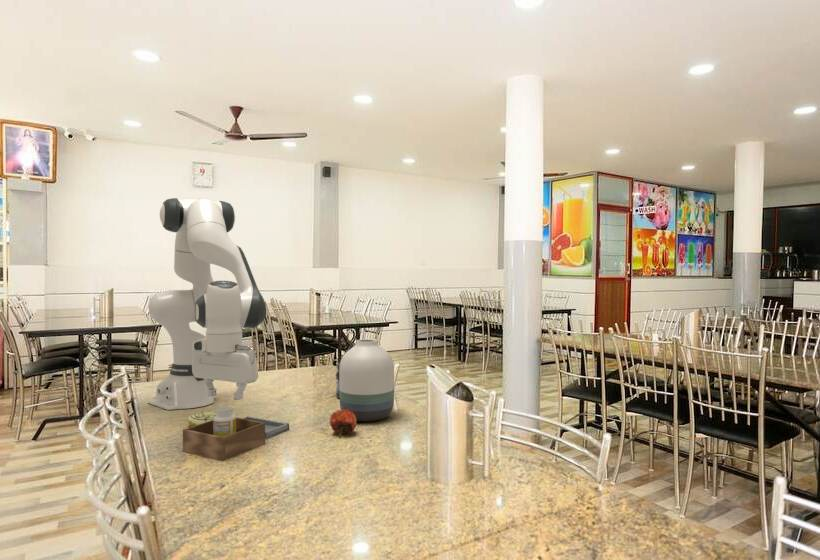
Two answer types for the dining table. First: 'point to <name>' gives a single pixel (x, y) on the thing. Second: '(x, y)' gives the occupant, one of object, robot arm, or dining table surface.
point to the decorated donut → (201, 417)
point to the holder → (223, 439)
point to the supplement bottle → (224, 422)
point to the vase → (367, 381)
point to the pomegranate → (343, 421)
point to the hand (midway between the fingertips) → (224, 397)
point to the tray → (271, 426)
